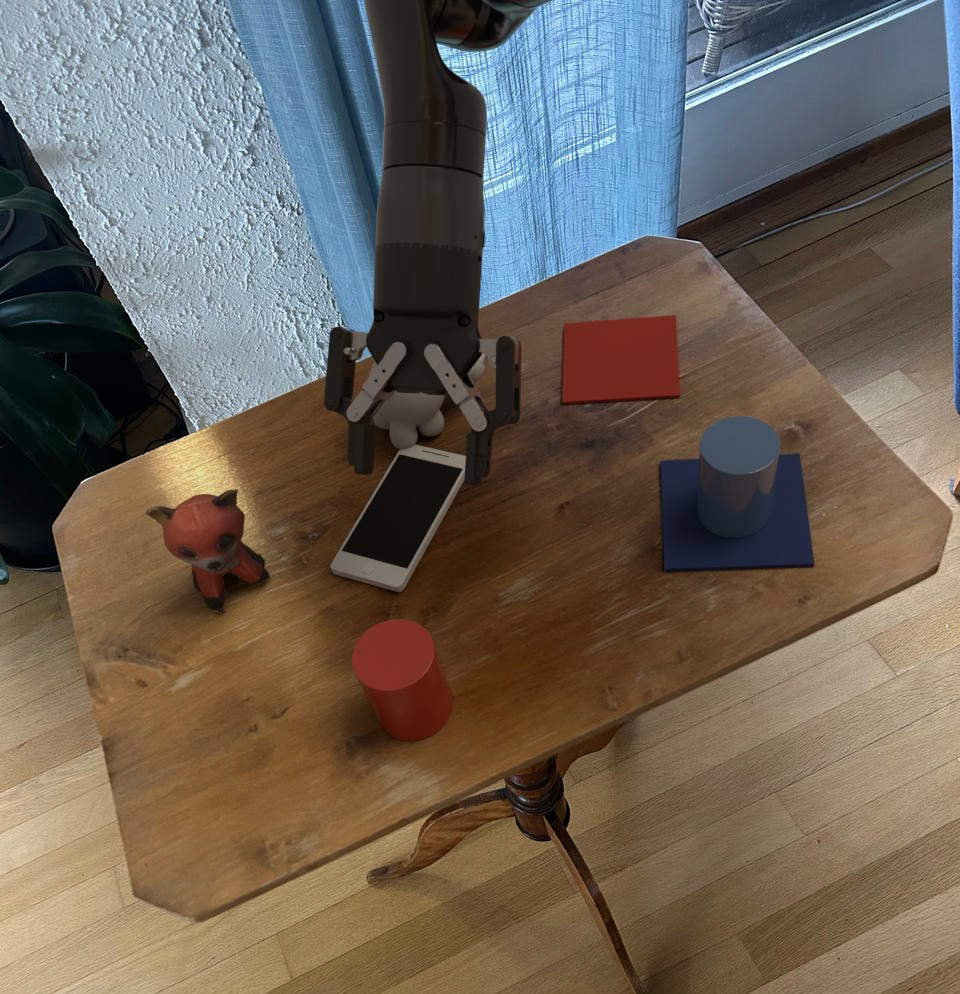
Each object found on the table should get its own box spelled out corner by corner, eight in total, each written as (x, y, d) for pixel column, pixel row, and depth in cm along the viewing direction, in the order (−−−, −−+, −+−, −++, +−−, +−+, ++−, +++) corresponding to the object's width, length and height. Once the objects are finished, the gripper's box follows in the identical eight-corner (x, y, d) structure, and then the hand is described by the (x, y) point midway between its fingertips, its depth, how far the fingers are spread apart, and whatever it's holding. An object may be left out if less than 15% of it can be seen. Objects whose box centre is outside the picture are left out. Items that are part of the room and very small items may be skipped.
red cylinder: (456, 672, 83) (438, 617, 76) (449, 740, 80) (430, 690, 73) (381, 673, 84) (357, 620, 77) (372, 741, 81) (346, 691, 74)
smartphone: (330, 573, 90) (327, 567, 90) (406, 447, 97) (403, 440, 96) (402, 593, 88) (399, 587, 87) (473, 463, 95) (472, 456, 94)
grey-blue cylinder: (768, 480, 88) (777, 413, 82) (774, 537, 85) (784, 472, 78) (695, 483, 89) (697, 417, 83) (698, 539, 86) (701, 476, 79)
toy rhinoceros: (507, 413, 98) (501, 341, 91) (396, 463, 96) (381, 393, 89) (472, 371, 102) (464, 300, 95) (364, 418, 100) (347, 348, 93)
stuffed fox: (263, 510, 96) (217, 418, 86) (289, 599, 90) (243, 512, 80) (186, 537, 95) (131, 448, 85) (207, 629, 89) (150, 545, 79)
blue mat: (799, 456, 90) (799, 453, 89) (813, 566, 83) (814, 563, 83) (660, 463, 92) (660, 460, 91) (664, 571, 85) (664, 568, 85)
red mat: (675, 318, 101) (675, 314, 101) (679, 397, 96) (679, 394, 95) (564, 326, 103) (564, 323, 103) (562, 404, 97) (561, 401, 97)
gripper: (313, 234, 70) (307, 474, 74) (514, 240, 66) (497, 491, 70) (355, 250, 77) (348, 468, 81) (540, 256, 73) (523, 484, 77)
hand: (417, 479), depth 76 cm, fingers open, 8 cm apart
